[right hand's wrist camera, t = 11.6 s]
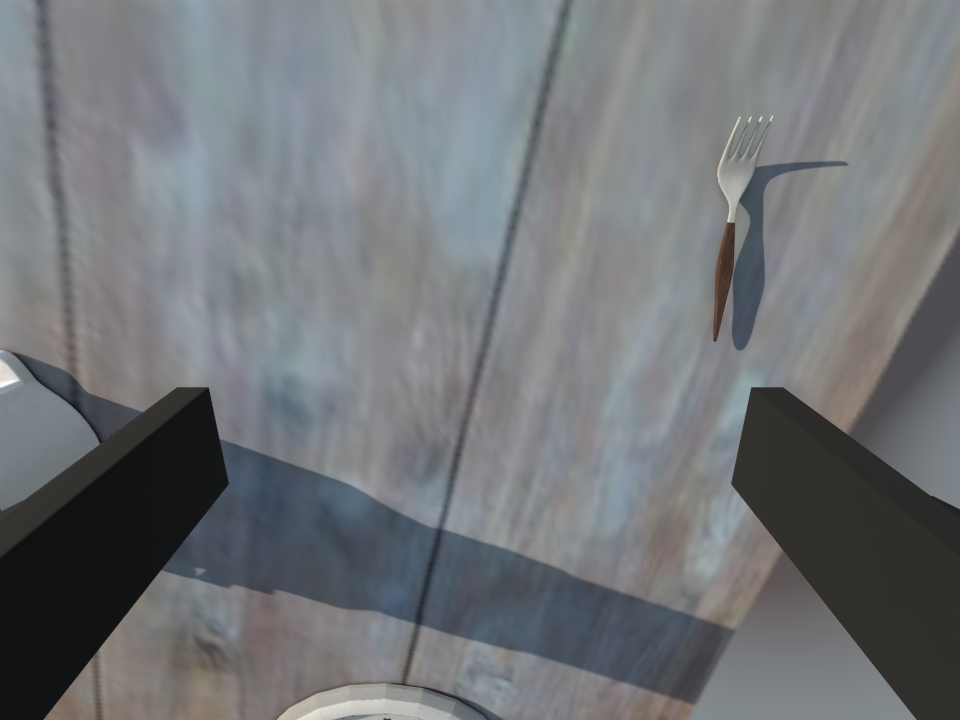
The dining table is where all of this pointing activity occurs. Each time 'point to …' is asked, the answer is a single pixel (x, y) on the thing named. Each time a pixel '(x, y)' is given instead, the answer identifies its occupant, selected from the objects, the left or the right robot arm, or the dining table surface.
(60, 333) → the dining table surface
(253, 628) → the dining table surface
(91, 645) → the right robot arm
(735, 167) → the fork
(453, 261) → the dining table surface
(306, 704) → the wall clock
